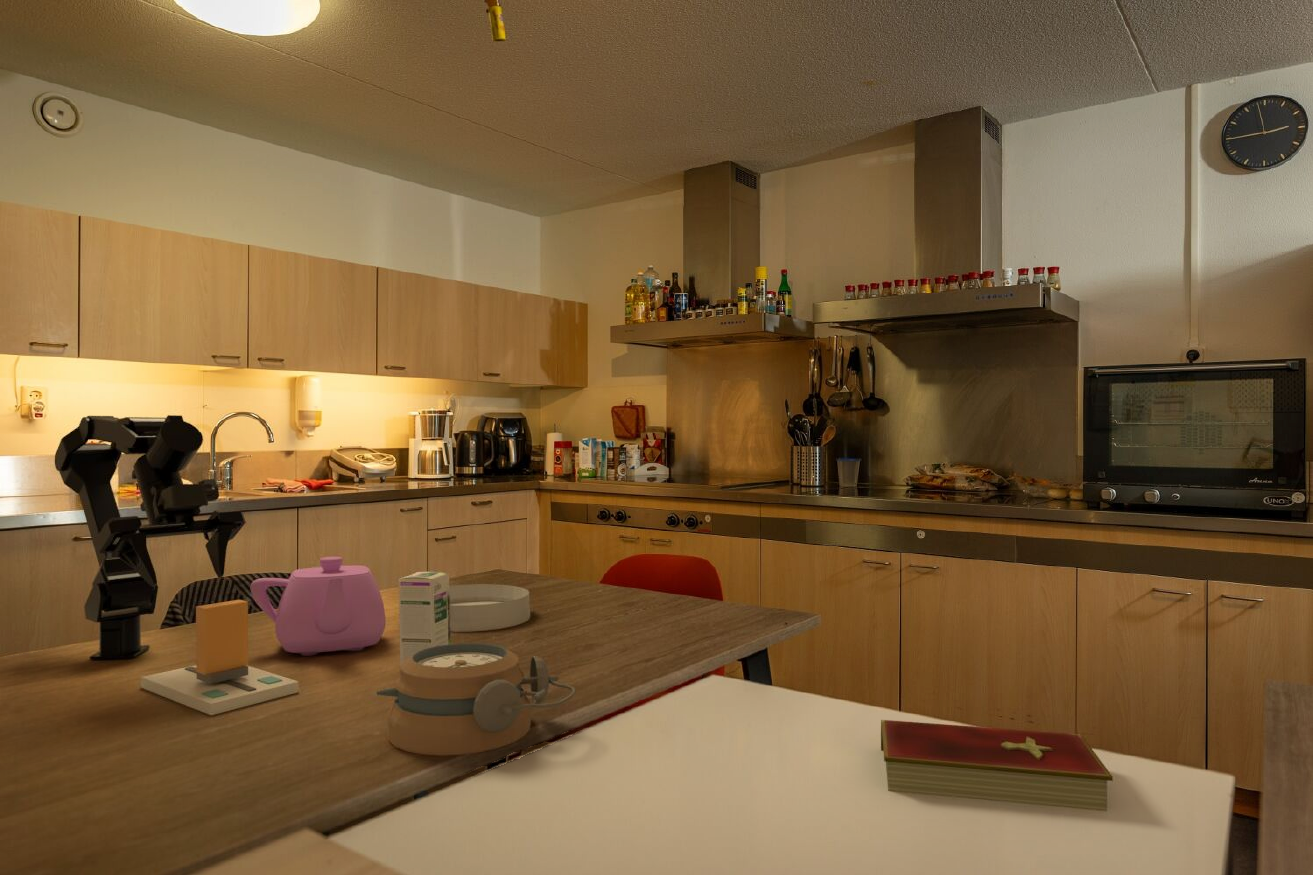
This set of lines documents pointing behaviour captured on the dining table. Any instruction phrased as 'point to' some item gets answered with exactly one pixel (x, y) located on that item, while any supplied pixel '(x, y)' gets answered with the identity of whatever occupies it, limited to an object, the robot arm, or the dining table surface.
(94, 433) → the robot arm
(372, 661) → the dining table surface
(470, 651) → the alarm clock
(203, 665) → the fader
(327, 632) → the teapot
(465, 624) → the dish
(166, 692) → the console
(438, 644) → the syrup box
